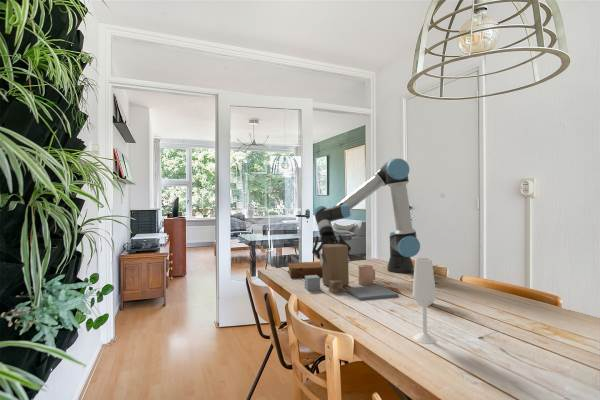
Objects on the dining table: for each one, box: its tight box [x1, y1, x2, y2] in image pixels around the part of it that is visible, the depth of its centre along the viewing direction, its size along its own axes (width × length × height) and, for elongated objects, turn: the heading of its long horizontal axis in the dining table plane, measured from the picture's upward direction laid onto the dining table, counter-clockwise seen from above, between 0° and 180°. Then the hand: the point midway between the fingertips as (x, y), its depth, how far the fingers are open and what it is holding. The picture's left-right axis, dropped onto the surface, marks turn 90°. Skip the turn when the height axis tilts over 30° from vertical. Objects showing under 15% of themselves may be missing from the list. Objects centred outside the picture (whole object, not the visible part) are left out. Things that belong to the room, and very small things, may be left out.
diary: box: [287, 261, 323, 279], centre depth 199 cm, size 23×19×6 cm
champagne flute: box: [412, 257, 438, 345], centre depth 103 cm, size 7×7×24 cm
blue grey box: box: [304, 275, 321, 292], centre depth 164 cm, size 6×6×6 cm
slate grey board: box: [345, 284, 399, 301], centre depth 154 cm, size 18×16×1 cm
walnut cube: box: [328, 280, 344, 294], centre depth 159 cm, size 5×5×5 cm
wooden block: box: [321, 244, 350, 287], centre depth 171 cm, size 10×10×20 cm
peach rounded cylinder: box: [358, 264, 376, 287], centre depth 172 cm, size 8×7×9 cm
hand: (335, 262), depth 170 cm, fingers open, 13 cm apart
